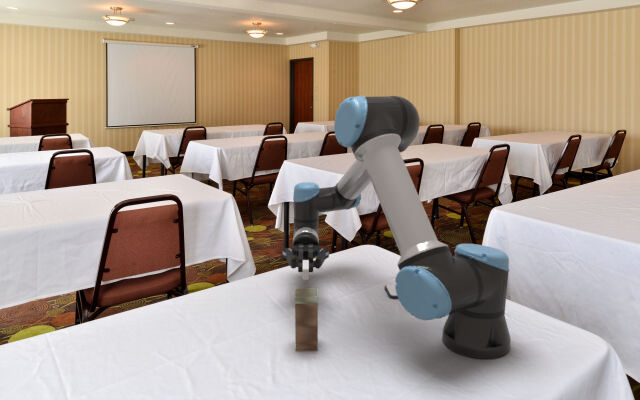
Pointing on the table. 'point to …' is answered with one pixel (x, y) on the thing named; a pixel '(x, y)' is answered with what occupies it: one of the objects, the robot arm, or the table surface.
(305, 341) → the walnut block
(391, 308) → the table surface
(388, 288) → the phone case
